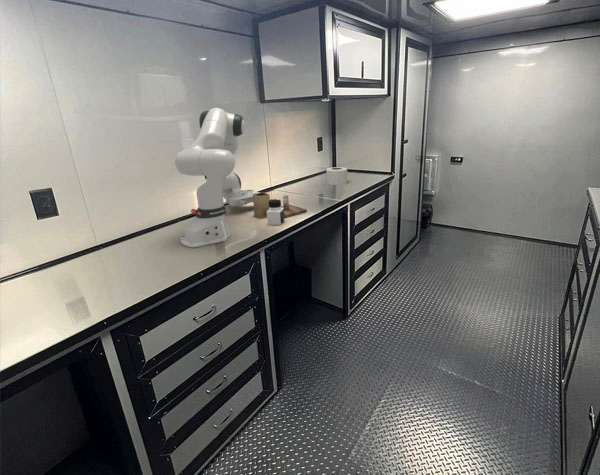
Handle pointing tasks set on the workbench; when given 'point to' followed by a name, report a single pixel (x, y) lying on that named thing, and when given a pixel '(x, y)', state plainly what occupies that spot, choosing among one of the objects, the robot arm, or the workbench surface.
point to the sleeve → (261, 204)
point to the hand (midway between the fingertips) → (253, 201)
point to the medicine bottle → (275, 213)
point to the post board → (291, 208)
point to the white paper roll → (336, 175)
